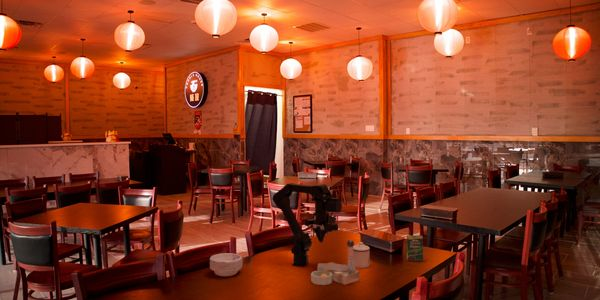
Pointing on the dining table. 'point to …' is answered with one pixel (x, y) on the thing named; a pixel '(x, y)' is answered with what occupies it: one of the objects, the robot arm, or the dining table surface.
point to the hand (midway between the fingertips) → (321, 242)
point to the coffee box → (415, 248)
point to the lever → (340, 267)
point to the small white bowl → (321, 280)
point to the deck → (343, 276)
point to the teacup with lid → (361, 255)
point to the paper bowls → (225, 264)
